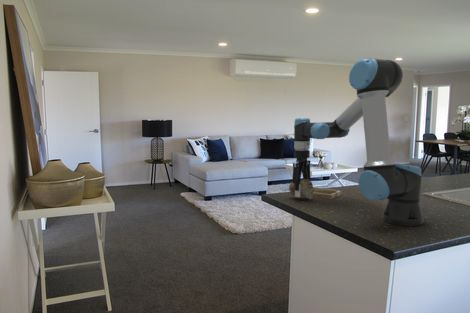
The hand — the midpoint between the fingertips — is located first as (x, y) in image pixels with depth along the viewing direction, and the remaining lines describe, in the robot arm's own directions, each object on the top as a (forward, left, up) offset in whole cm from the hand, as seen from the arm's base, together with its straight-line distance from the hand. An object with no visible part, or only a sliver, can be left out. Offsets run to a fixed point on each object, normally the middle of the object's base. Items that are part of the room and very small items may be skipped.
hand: (301, 195), depth 189 cm
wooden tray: (+16, -3, -2) cm, 16 cm away
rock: (0, 0, -1) cm, 1 cm away
